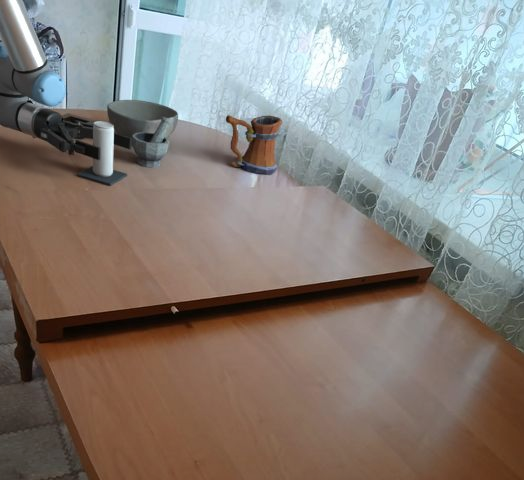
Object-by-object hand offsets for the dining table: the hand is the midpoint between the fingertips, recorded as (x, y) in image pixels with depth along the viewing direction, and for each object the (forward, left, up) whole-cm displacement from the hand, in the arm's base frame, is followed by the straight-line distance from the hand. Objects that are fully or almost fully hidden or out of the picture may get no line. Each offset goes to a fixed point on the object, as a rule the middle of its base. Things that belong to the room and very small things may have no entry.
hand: (115, 148), depth 131 cm
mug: (+24, +37, -8) cm, 45 cm away
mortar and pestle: (+1, +19, -8) cm, 20 cm away
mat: (-4, +1, -8) cm, 9 cm away
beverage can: (-4, +1, -7) cm, 8 cm away
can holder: (-27, +27, -8) cm, 38 cm away
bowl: (-8, +33, -8) cm, 35 cm away
